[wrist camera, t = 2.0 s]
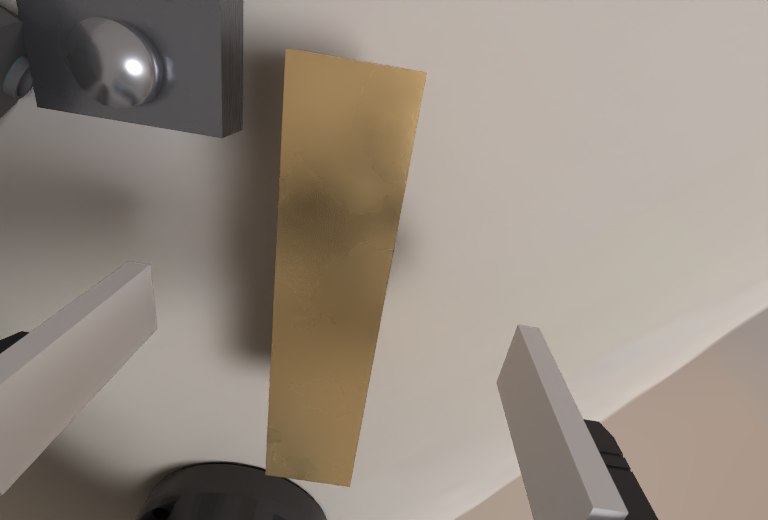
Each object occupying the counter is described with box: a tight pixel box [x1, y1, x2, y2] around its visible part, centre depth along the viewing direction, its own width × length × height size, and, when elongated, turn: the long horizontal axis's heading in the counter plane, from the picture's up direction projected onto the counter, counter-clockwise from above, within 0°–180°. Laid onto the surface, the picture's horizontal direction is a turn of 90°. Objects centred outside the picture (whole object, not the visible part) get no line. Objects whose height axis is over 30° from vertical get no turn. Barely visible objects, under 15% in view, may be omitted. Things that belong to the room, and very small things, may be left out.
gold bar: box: [265, 49, 427, 487], centre depth 19 cm, size 18×4×8 cm, turn 171°
